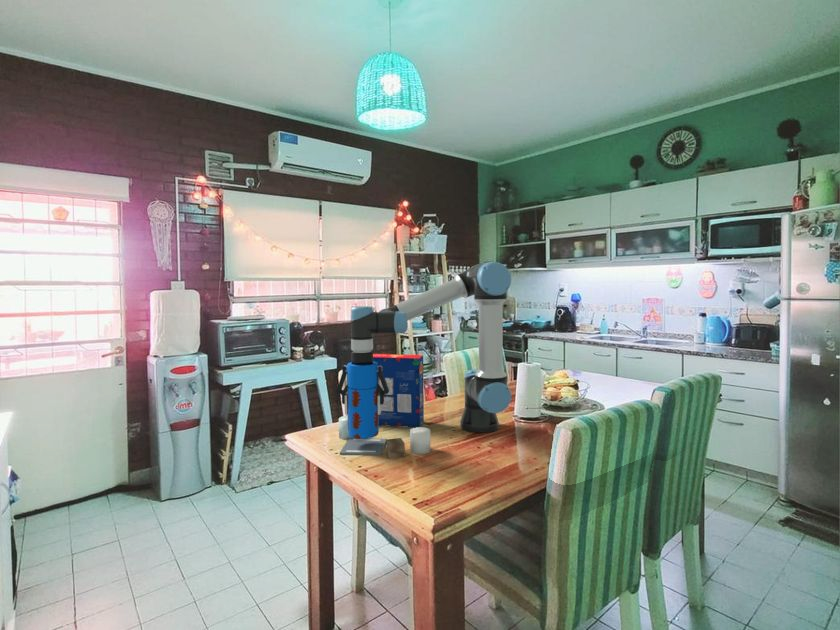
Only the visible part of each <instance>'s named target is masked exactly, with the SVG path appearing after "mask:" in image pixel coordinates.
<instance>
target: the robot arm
mask: <svg viewBox="0 0 840 630" xmlns="http://www.w3.org/2000/svg"><path fill="white" fill-rule="evenodd" d="M511 284H512V275H511V272H510V270H509V268H508V267H506V266H505V265H504V264H503V263H501V262H497V261H487V262H480V263H477V264H475V265H473V266H471V267H469V268H468V269H466V270H464V271H462V272H460V273H458V274H456V275H455V276H454V278H453V279H452V280H448V281H446V282H444V283H441V284H440V285H438V286H435V287H433V288H431V289H428V290H426V291H424V292H422V293H419V294H417V295H415V296H412V297H410V298H408V299H405V300H403V301H401V302H399V303H396V304H394V305H392V306H389V307H387V308H383V309H380V310H379V311H374V309H373V307H372V306H368V305H367V306H366V305H365V306H363V305H362V306H360V305H359V306H353V307H352V308H351V309H350V336H351V337H350V338H351V339H350V350H351V353H350V354H351V355H350V357H351V362H352V363H351V364H373V354H374V352H373V349H374V334H396V335H397V334H402V333H407V330H408V321H410V320H413V319H415V318H417V317H419V316H422V315H424V314H427V313H429V312H430V311H433V310H436V309H438V308H441V307H442V306H445V305H446V304H449V303H451V302H454V301H456V300H458V299H461V298H464V299H467V298H469V297H471V296H474V297H473V300H474V301H475V302H476V303H477V305H478V369H477V368H476V369H467V370H466V371H465V373H464V378H463V379H464V409H463V411H462V414H461V418H460V420H459V423H460V424H459V426H460V428H461V429H463V430H464V431H466V432H467V431H468V432H472V433H481V434H482V433H491V432H495V431H497V430H498V429H499V420H498V417H497V414H499V413H501V412H503V411H505V410H506V409H507V408H508V407H509V405H510V403H511V401H512V392H511V390H510V387H509V386H508V374H507V373H506V371H504V368H503V364H504V363H503V362H504V360H503V359H504V358H503V356H504V354H503V352H504V351H503V348H504V347H503V346H504V345H503V342H504V341H503V340H504V338H503V336H504V335H503V329H504V328H503V325H504V324H503V321H504V319H503V315H504V313H503V306H504V304H505V302H506V301H507V299H508V290H509V289H510V287H511ZM341 368H342V371H341V372H342V373H341V376H340V380H339V382H338V385H337V389H336V394H340V395H341V403H342V405H344V414H345V415H348V405H347V387H348V386H347V384H346V385H345V387H344V384H345V380H346V379H347V365H346V364H344V365H343V366H342V367H341ZM377 368H378V370H377V372H378V375H379V378H380V381H381V383H382V386H383V389H384V390H383V389H382V388H381V386H380V385H379V383H378V384H377V391H378V393H379V395H378V414H379V415H380V413H381V404H383V403H384V395H385V394H388V392H389V389H388V386H387V383H386V380H385V377H384V375H383V372H382V371H383V367H382V365H380V366H377ZM343 387H344V389H343Z"/></svg>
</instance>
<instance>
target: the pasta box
mask: <svg viewBox="0 0 840 630" xmlns="http://www.w3.org/2000/svg"><path fill="white" fill-rule="evenodd" d="M373 361H374V362H377V363H378V366H380V365H382V367H383V371H382V372H383V375H384V377H385V380H386V383H387V386H388V389H389V392H388V394H385V395H384V403H383V404H381V413H380V415H379V426H382V425H390V426H389V427H398V426H408V427H407V428H414V427H420V426H421V427H422V425H423V424H422V423H424V422H425V420H424V419H425V418H424V417H425V415H424V414H425V412H424V411H425V410H424V409H425V407H424V405H425V403H424V399H425V398H424V397H425V396H424V394H425V392H424V355H423V354H400V353H399V354H396V353H395V354H394V353H393V354H391V353H373ZM378 383H379V385H380V386H381V388H382V389H383V386H382V383H381V381H380V378H379V375H378ZM383 390H384V389H383Z"/></svg>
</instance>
